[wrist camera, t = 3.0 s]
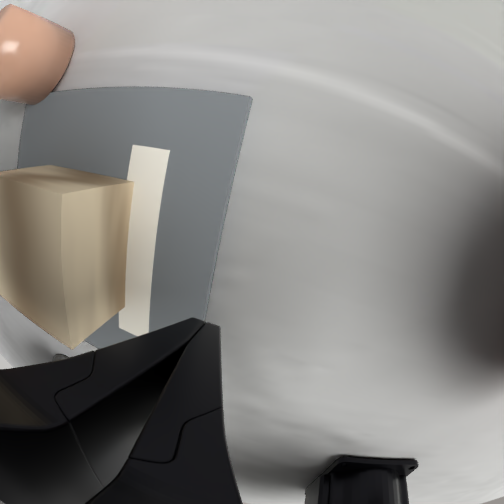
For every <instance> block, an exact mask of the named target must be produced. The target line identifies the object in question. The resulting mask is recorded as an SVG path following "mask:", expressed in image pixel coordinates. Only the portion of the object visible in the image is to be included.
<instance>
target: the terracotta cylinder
mask: <svg viewBox="0 0 504 504" xmlns="http://www.w3.org/2000/svg"><path fill="white" fill-rule="evenodd" d="M74 43H75V39H74V35H73V33H72V32H71V31H70V30H68V29H66V28H64V27H62V26H60V25H58V24H56V23H54V22H52V21H49V20H47V19H45V18H43V17H41V16H38V15H36V14H34V13H32V12H29V11H27V10H24V9H22V8H19V7H17V6H14V5H12V4H9V5H7V6H5V7H4V8H3V9H2V10H1V11H0V100H6V101H12V102H18V103H24V104H29V105H35V104H37V103H39V102H41V101H42V100H43V99H45V98H46V97H47V96H48V95H49V94H50V93H51V91H52V90H53V89H54V88H55V86H56V85H57V84H58V82H59V80H60V79H61V77H62V76H63V74H64V72H65V70H66V68H67V66H68V64H69V61H70V59H71V56H72V53H73V49H74Z"/></svg>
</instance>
